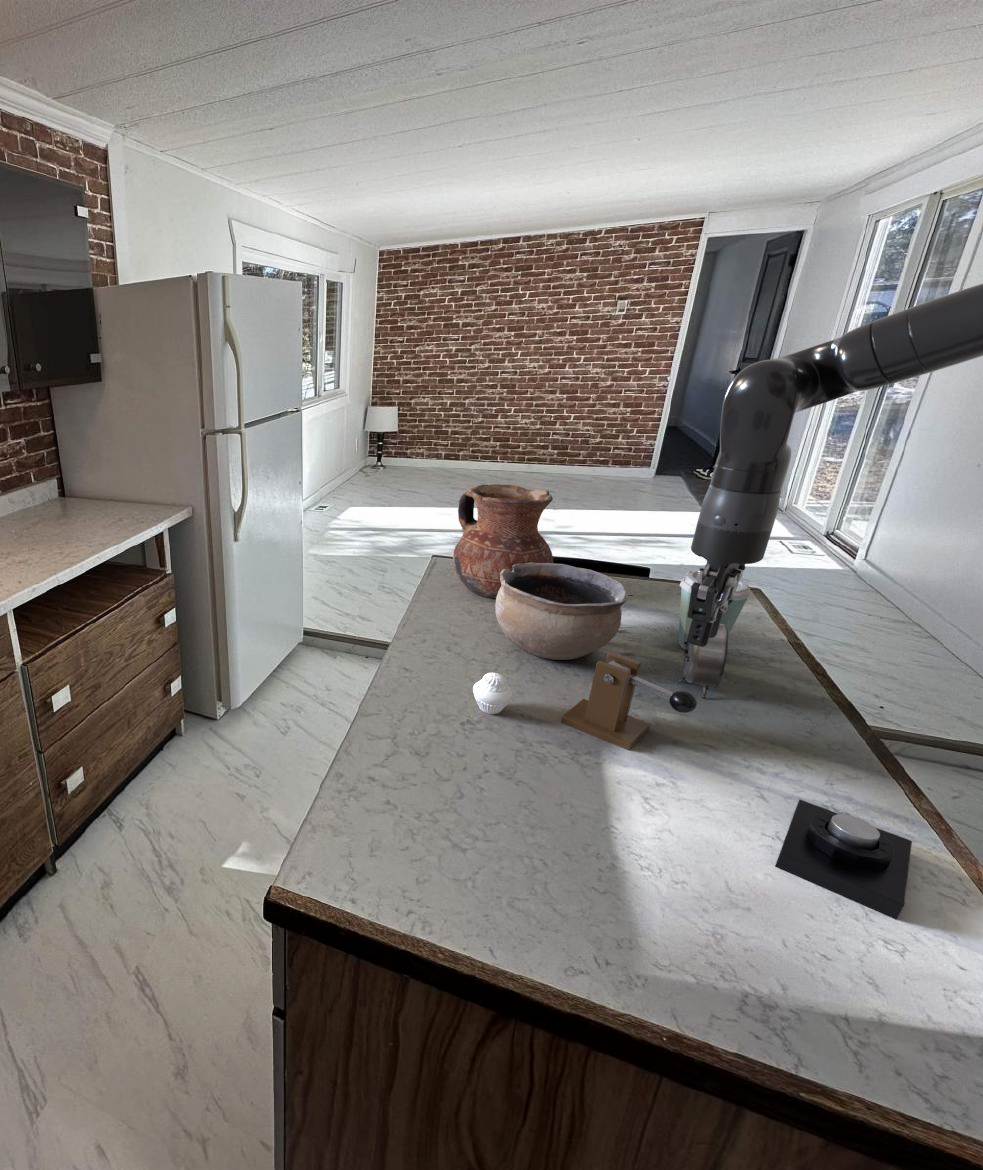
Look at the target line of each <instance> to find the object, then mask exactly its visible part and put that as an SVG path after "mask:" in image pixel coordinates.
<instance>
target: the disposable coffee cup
mask: <svg viewBox="0 0 983 1170" xmlns="http://www.w3.org/2000/svg"><path fill="white" fill-rule="evenodd" d="M699 569H700V568H696V569H692V570H689V571H687V572H686V575H685V576H683V577H682V579H681V581H680V584H679V587H681V591H680V608H679V625H678V643H679V646H680V647H681V648H682V649H683V650H685V647H686V644H684V642H687V637H688V633H689V630H690V626H691V622H692V619H691V618H688V615H687V613H688V609H689V602H690V595H691V586H692V585H693V583H694V582H696V583H697V580H696V577H697V574H698V571H699ZM749 598H751V586H749V584H748V583H747V582H745V581H744V580H742V578H741V579H740V581H739V583H738V586H737V589H736V592H735V595H734V596H733V599H732V600H733V601H732V603H731V604H730V605H727V607H728V609H727V611H725V613H723V612H721V613H723V615H722V619H721V622H720V624H725V625H726V627H727V630H728V636H729V635H730V633H731V632H732V629H733V628H734V625H735V624H736V622H737V620H738V618H739V616H740V614H741V613H742V610H743V608H744V606H745V604H746V602H747V601H748V599H749ZM702 610H703V609H701V608H700V610H699V611H702Z"/></svg>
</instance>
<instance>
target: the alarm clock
mask: <svg viewBox="0 0 983 1170" xmlns="http://www.w3.org/2000/svg"><path fill="white" fill-rule="evenodd" d="M684 644H686V647H685V649H684V657H683V671H682V676H681V678H680V679H679V680H678V683H680V682H682V681H683V680H686V682H687V683H688V684H689V683H690V684H694V685H697V686H698V685H699V686H701V695H700V696H701V699H706V698H707V693H708V688H709V687H711V688H717V687H719V686H720V684H721V681H722V679H723V676H724V672H725V668H726V663H727V655H728V648H729V647H728V646H729V635H728V630H727V627H726V625H725V624H720V625H719V629H718V632H717V635H716V636H715V637H714V638H709V640H708V644H707V645H706V646H704V647H700V646H696V645H693V644H690V643H688V642H684Z"/></svg>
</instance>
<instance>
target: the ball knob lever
mask: <svg viewBox="0 0 983 1170" xmlns="http://www.w3.org/2000/svg"><path fill="white" fill-rule="evenodd" d="M608 664H611V665H614V666H617V667H620V668H623V669H626V670H629V671H631V669H632V668H630V667H628V666H626V665H623V664H621V663H619V662H616V661H614V660H612V661H610V662H609V663H608ZM628 683H631V684H633V685H635V687H638V688H640V689H641V690H644V691H646V692H649V693H651V694H652V695H655V696H658V697H660V698H662V699H664V700H666V701H668V703H669V705H670V707H671V708H672V709H673V710H674V711H676V712H678V713H681V714H686V713H687V714H689V713H691V712H693V711H694V710H695V709H696V708H697V705H698V702H697V698H696V697H695V695H694V694H693V693H691V692H690V691H687V690H677V691H674V692H673V691H671V690H669V689H666V688H664V687H662V686H659V685H657V684H656V683H653V682H650V681H648V680H646V679H644V678H641V677H639V676H638V677H637V676H634V675H632V674H630V677H629V681H628Z"/></svg>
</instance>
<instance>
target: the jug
mask: <svg viewBox="0 0 983 1170" xmlns="http://www.w3.org/2000/svg"><path fill="white" fill-rule="evenodd" d="M553 499H554V497H553V496H552V494H550V491H549V490H547V489H541V488H535V489H530V488H525V487H522V486H519V485H517V484H506V483H505V484H504V483H503V484H500V483H499V484H497V483H494V484H493V483H492V484H478V485H476V486H473V487H469V488H467V489H466V490H465V491H463V493H462V494H461V496H460V498H459V501H458V509H457V514H458V515H457V516H458V522H459V525H460V527H461V529H462V532H463V533H462V535H461V537H460V539H459V540H458V542H457V543H456V544H455V546H454V548H453V552H452V553H453V554H452V555H453V556H452V564H453V567H454V568H453V569H454V571H455V574H456V576H457V578H458V579H459V580H460V582H461V583H462V584H463V585H464V586H465V587H466V588H467V589H468V591H470V592H472V593H474V594H475V595H477V596H480V597H484V598H487V599H488V598H489V599H496V597H497V594H498V591H499V589H500V588H501V586H502V585H501V581H500V573H501V571H502V570H503V569H508V570H510V571H513V567H512V566H513V565H515V564H524V563H553V564H554V556H553V551H552V549H551V547H550V545H549V543H548V542H547V541H546V540H545V538H544V537H543V536H542V534H540V532H539V529H538V525H539V521H540V519H541V515H542V514H543V512H544V511H545V509H546V508H547V507H548V506H549V505H550V504H551V503H552V502H553ZM475 505H476V509H477V510H476V511H477V519H475V517H474V515H475V513H474V512H475V511H474V509H475Z"/></svg>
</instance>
